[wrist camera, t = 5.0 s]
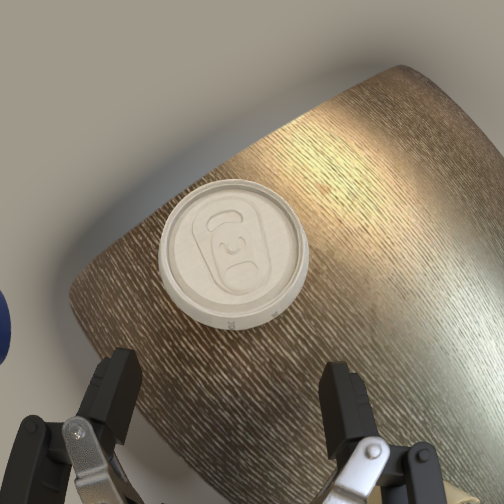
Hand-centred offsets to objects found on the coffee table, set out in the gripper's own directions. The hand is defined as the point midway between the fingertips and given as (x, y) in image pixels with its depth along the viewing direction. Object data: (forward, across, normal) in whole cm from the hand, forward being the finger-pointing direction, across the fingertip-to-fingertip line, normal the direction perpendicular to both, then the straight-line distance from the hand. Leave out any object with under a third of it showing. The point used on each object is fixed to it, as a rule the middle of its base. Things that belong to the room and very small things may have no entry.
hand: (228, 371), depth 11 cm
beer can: (+13, 0, +6) cm, 14 cm away
